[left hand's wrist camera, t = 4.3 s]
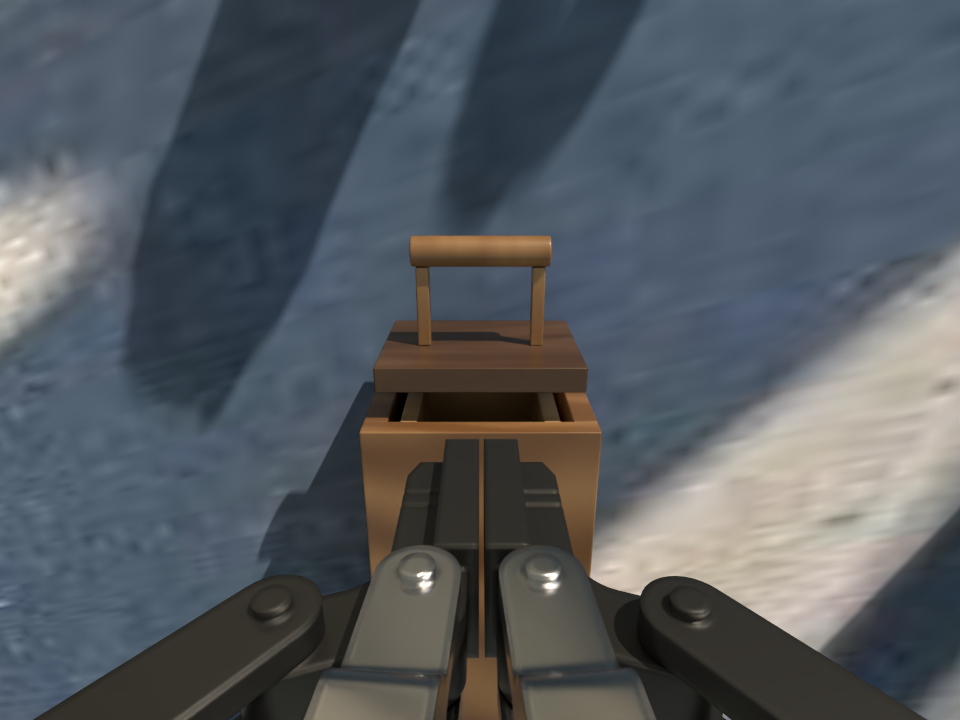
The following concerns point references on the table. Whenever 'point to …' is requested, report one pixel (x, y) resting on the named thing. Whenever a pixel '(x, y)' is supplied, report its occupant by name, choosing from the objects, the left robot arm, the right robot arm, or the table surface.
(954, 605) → the table surface
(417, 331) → the drawer
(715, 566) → the table surface
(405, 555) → the left robot arm
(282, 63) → the table surface
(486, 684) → the open wooden crate
